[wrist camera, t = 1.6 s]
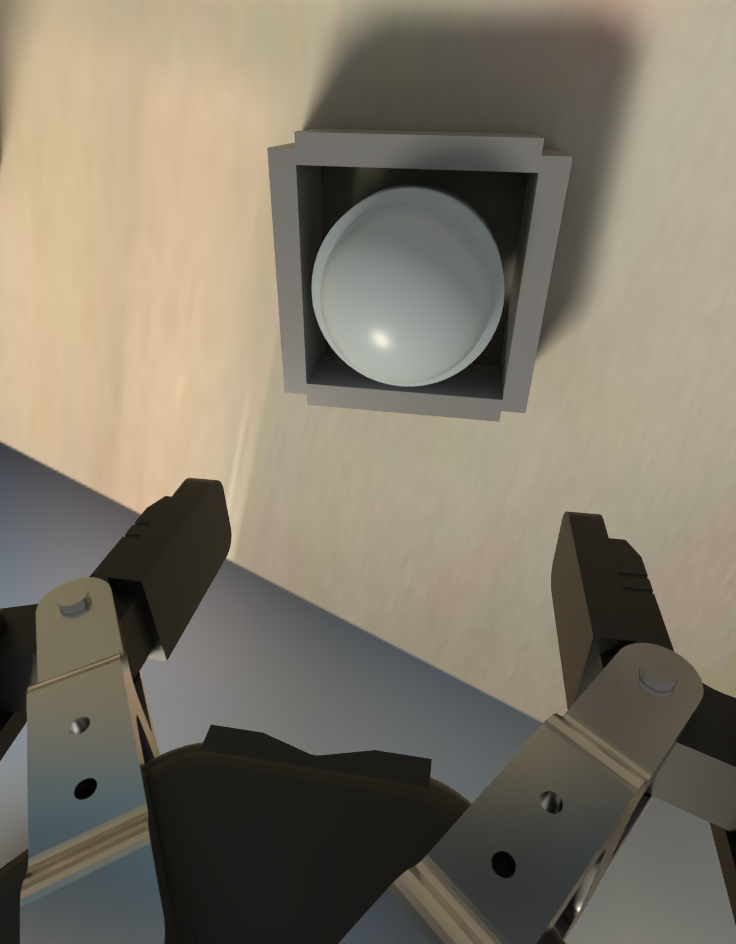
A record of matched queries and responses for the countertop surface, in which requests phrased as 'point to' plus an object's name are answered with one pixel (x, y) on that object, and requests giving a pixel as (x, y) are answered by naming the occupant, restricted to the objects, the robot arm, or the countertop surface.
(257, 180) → the countertop surface
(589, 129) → the countertop surface
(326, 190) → the countertop surface
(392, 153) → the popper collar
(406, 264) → the dome
